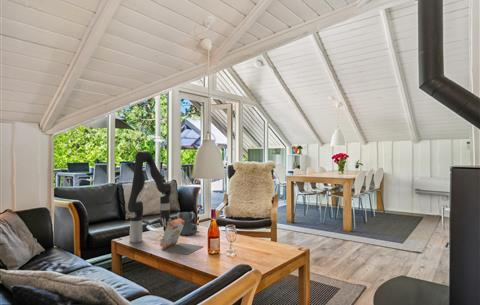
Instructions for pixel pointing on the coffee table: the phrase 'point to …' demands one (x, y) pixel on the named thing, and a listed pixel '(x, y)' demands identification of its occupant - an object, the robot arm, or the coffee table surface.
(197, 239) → the coffee table surface
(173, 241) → the cracker box
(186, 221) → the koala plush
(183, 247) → the mat
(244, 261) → the coffee table surface
